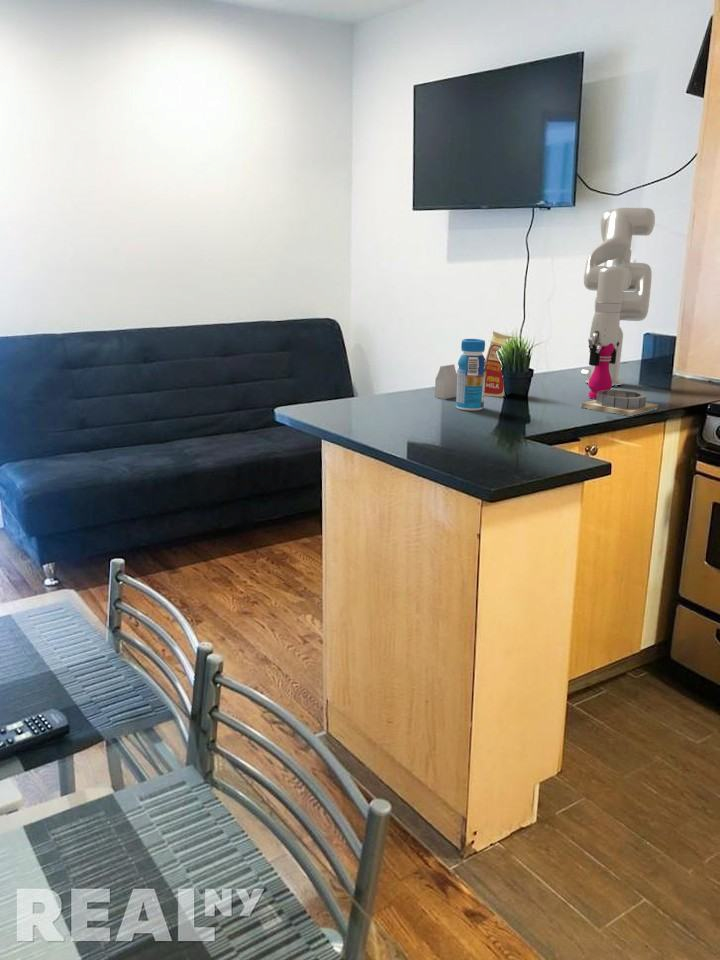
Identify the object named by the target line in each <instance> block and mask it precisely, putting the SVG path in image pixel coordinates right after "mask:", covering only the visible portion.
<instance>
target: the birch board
mask: <svg viewBox="0 0 720 960" xmlns="http://www.w3.org/2000/svg"><path fill="white" fill-rule="evenodd" d="M657 407H658V408H659V404H656V403H650V402H646V404H645V407H642V408H637V409H623V408H612V407H606V406H602V405H599V404H596V400H595V399H592V400H590V401H586V402H585V401H584V402H582V403H581V408H582V409H585V408H587V409H586V410H590V409H593V410H592V411H596V410H600V411H599V412H601V411H605V412H604V413H607V412H612V413H618V414H624V415H630V416H631V415H635V414H638V413H641V412H644V411H648V410H651V409H654V408H657ZM612 413H611V414H612ZM618 414H617V415H618Z"/></svg>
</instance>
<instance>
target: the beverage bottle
mask: <svg viewBox="0 0 720 960" xmlns="http://www.w3.org/2000/svg"><path fill="white" fill-rule="evenodd" d="M460 347H461V352H463V353H462V354H461V355H460V357H459V359H458V362H457V365H458V368H457V370H456V373H457V396H456V397H455V398H456V399H455V407H456V409H458V410H462V411H471V412H472V411H473V412H474V411H480V410H483V409H484V407H485V396H484V390H485V377H486V370H485V366H486V357H485V356H484V353H485V351H486V348H485V347H486V340H484V339H479V338H463V339H461V346H460Z"/></svg>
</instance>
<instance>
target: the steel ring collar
mask: <svg viewBox="0 0 720 960" xmlns="http://www.w3.org/2000/svg"><path fill="white" fill-rule="evenodd" d="M646 403H647V394H645V393H643V392H639V391H635V390H626V389H610V390H600V391H597V397H596V404H599V405H602V406H606V407H612V408H623V409H637V408H642V407H645V404H646Z"/></svg>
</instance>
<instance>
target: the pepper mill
mask: <svg viewBox="0 0 720 960" xmlns="http://www.w3.org/2000/svg"><path fill="white" fill-rule="evenodd" d="M596 347H597V346H596ZM613 351H614V345H613V344H612V343H611V344H609V345H608V346H602V347H601V349H600V351H599V353H600V360H599V366H595V369H594V371H593V374H592V375H591V377H590V380H589V383H588V384H587V385H588V389H590V391H589V392H588V398H589V397H590V398H594V399H593V400H595V399H596V397H597V391H600V390H612V388H613V387H612V379H611V376H610V372H609V362H610V361H611V356H610V355H611V354H612V353H613ZM590 398H589V399H590Z"/></svg>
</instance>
